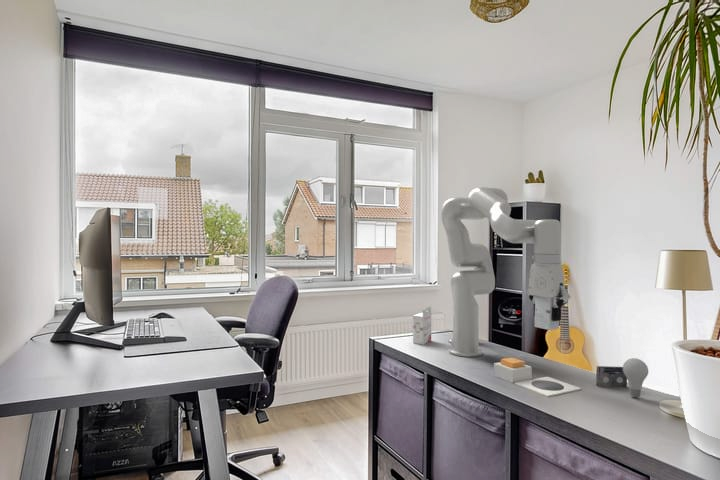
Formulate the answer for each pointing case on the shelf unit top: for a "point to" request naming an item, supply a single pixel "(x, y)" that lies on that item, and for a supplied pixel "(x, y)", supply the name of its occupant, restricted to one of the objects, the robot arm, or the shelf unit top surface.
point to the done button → (512, 362)
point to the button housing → (512, 373)
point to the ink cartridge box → (422, 327)
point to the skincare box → (544, 314)
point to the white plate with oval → (547, 386)
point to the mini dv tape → (610, 377)
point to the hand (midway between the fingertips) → (546, 318)
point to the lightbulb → (635, 375)
